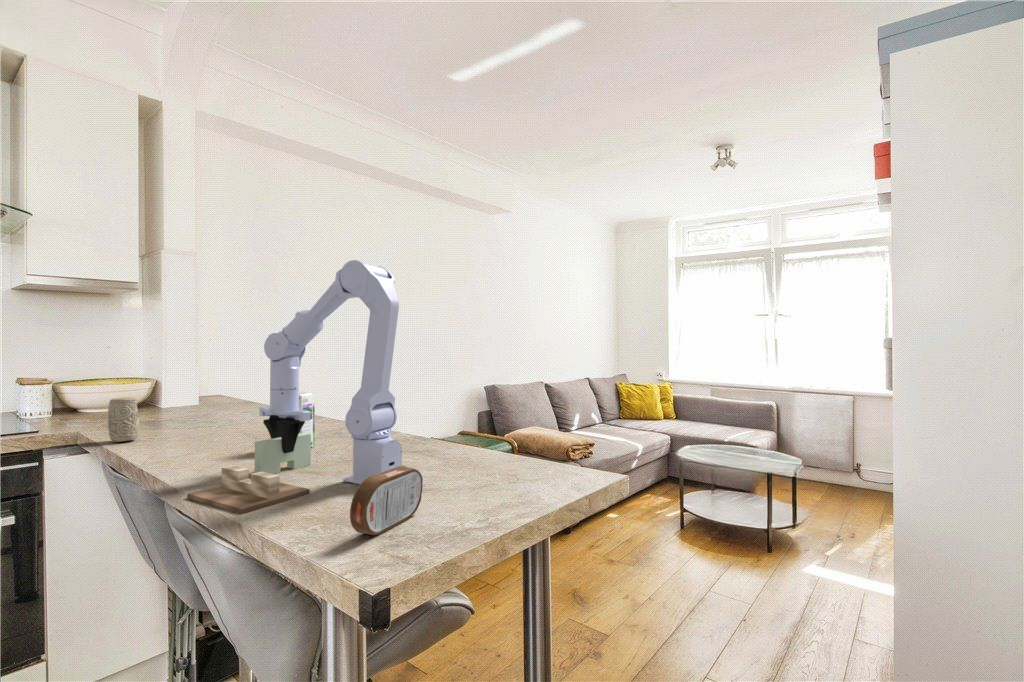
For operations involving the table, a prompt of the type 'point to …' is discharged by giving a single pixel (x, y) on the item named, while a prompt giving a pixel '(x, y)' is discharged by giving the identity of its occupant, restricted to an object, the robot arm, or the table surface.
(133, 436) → the carving
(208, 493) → the slotted base
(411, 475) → the tin
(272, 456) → the sage plate
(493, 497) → the table surface
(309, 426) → the syrup box
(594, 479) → the table surface
